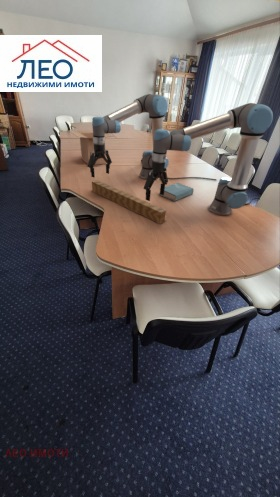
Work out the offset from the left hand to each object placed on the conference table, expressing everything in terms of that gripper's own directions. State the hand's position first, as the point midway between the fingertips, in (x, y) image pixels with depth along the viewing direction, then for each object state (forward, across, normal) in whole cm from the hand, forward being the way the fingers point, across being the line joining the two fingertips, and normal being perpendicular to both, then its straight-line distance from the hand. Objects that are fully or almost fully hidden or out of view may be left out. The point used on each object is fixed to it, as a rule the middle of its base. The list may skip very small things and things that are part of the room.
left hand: (100, 175), depth 161 cm
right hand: (0, 0, -51) cm, 51 cm away
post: (+14, 0, -26) cm, 29 cm away
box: (+14, +49, +72) cm, 88 cm away
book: (+14, +44, -40) cm, 61 cm away
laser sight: (+14, +91, +26) cm, 95 cm away
